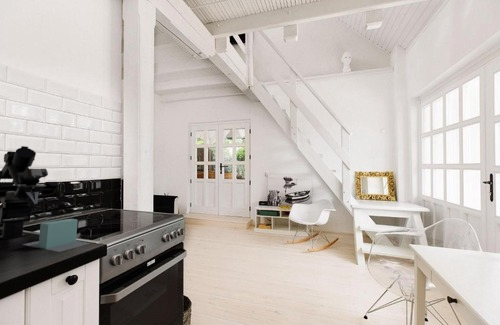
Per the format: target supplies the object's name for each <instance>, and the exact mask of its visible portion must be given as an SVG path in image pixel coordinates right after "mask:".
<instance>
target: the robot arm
mask: <svg viewBox="0 0 500 325" xmlns="http://www.w3.org/2000/svg"><path fill="white" fill-rule="evenodd" d="M36 156H37V153H36V151H35V150H33V149H31V148H29V146H26V145H23V146H21V145H20V148H17V149H16V150H15V151H7V152H6V153H4V155H3V162H4V163H5V164H4V166H3V167H2V169H1V170H0V203H1V204H2V207H0V224H3V227H2V235H0V239H2V240H9V239H16V238H22V237H26V236H28V234H27V233H23V232H24V225H25V224H24V222H27V221H28V222H29V221H30V220H31V216H32V213H33V208H32V206H33V207H36V206H37V205H38V201H39V195H40V194H41V195H42V196H51V195H54V194H55V192H56V191H57V189H58V188H60V185H59V183H58V182H57V181H45V182H44V183H43V184H39V183H40V181H41V180H40V179H42V178H46V177H47V176H48V175H49V173H48V170H47V169H46V168H30V167H31V166H32V165H33V162H34V161H35V157H36ZM1 180H11V181H1Z"/></svg>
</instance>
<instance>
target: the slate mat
mask: <svg viewBox="0 0 500 325" xmlns="http://www.w3.org/2000/svg"><path fill="white" fill-rule="evenodd" d="M89 244H90V245H91V243H90V242H85V241H80V240H79V241H78V240H76V241H75V242H71V243H67V244H63V245H59V246H55V247H51V248H47V249H46V248H41V247H39V240H37V241H32V242H27V243H22V244H21V245H22V246H27V247H32V248H37V249H41V250H47V251H51V252H56V253H57V252H58V253H60V252H64V251H67V250H71V249H75V248H79V247H82V246H86V245H89Z"/></svg>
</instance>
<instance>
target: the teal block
mask: <svg viewBox="0 0 500 325" xmlns="http://www.w3.org/2000/svg"><path fill="white" fill-rule="evenodd" d="M78 221H79V219H75V218H68V219H67V218H66V219H61V220H53V221H46V222H41V223H40V226H39V227H40V228H39V237H38V241H39V247H41V248H40V249H42V248H46V249H45V250H47V248H51V247H55V246H59V245H63V244H67V243H71V242H75V241H77V233H78V232H77V230H78Z"/></svg>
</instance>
